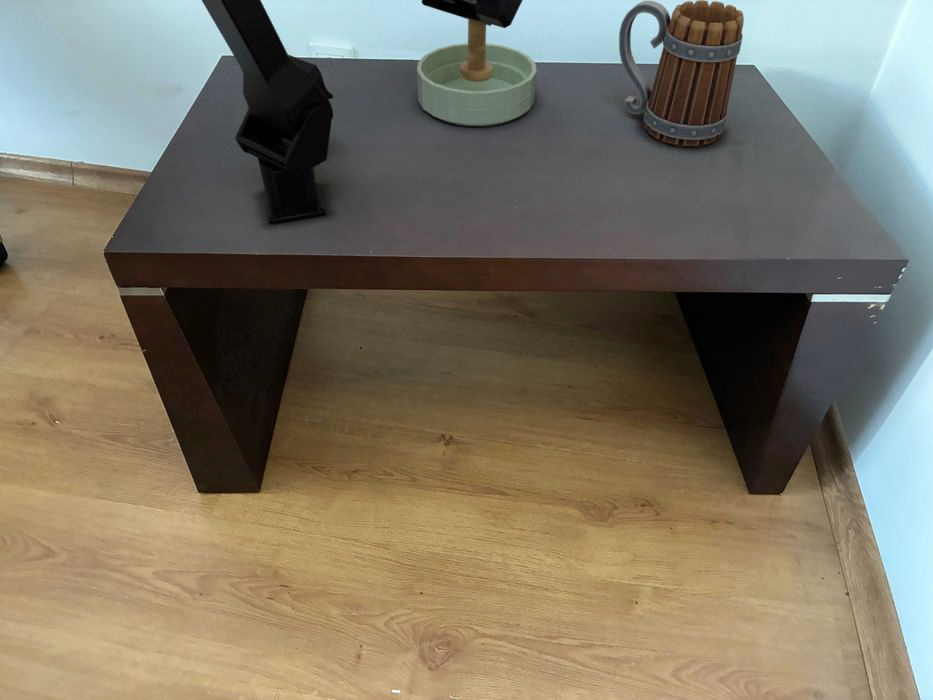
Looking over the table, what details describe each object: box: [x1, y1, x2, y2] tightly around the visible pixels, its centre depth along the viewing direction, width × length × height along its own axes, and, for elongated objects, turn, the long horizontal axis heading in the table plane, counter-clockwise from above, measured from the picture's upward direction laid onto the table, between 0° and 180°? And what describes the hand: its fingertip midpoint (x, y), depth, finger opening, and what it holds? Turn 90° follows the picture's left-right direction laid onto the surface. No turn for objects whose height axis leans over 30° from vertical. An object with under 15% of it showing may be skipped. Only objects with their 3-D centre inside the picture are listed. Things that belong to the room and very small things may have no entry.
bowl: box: [416, 42, 537, 127], centre depth 99 cm, size 16×16×5 cm
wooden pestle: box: [460, 19, 493, 82], centre depth 93 cm, size 4×4×14 cm
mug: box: [618, 0, 745, 148], centre depth 90 cm, size 16×11×15 cm
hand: (483, 19), depth 94 cm, fingers closed on wooden pestle, 2 cm apart
